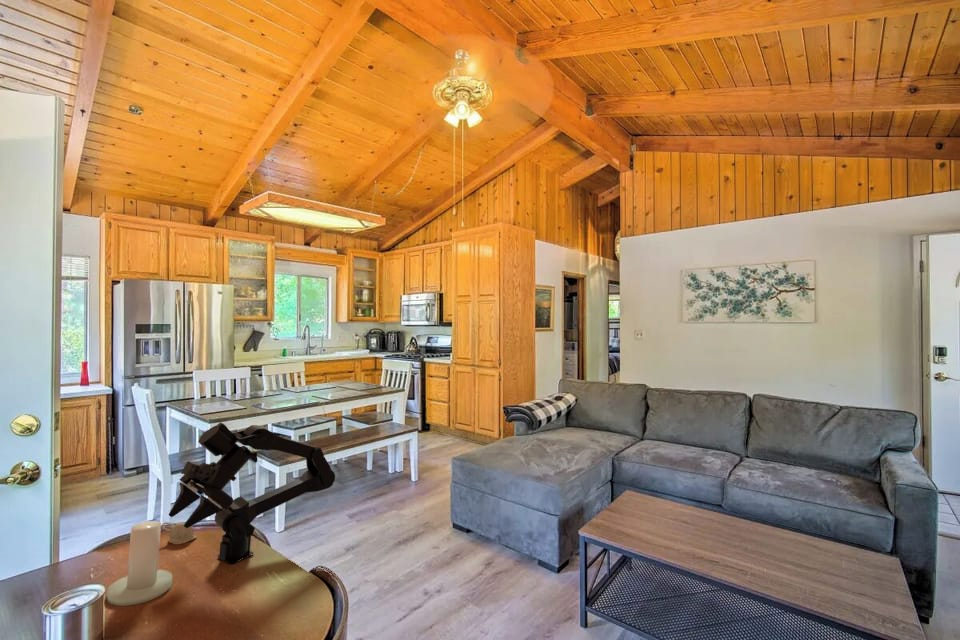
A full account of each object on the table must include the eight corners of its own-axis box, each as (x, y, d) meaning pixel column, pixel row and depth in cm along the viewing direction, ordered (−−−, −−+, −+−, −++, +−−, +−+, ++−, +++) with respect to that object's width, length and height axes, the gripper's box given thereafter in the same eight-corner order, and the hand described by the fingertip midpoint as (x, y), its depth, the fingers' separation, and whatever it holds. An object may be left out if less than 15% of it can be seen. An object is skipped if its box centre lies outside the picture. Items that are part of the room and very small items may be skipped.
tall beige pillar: (140, 575, 107) (145, 520, 107) (162, 577, 106) (167, 522, 106) (119, 588, 101) (124, 530, 101) (142, 591, 100) (147, 532, 101)
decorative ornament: (190, 544, 126) (191, 525, 126) (158, 544, 125) (159, 525, 125) (197, 537, 130) (198, 519, 130) (166, 537, 129) (167, 519, 129)
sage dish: (155, 570, 111) (156, 564, 112) (182, 586, 106) (183, 579, 106) (96, 594, 101) (97, 587, 101) (122, 612, 95) (123, 605, 95)
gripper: (190, 441, 120) (137, 494, 110) (223, 456, 108) (166, 515, 99) (220, 465, 126) (171, 517, 116) (253, 481, 115) (202, 539, 105)
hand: (177, 521), depth 109 cm, fingers open, 9 cm apart
